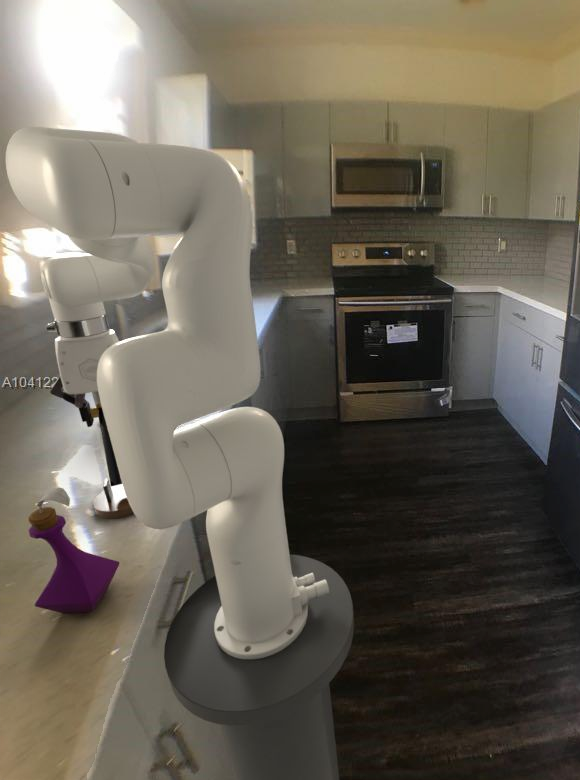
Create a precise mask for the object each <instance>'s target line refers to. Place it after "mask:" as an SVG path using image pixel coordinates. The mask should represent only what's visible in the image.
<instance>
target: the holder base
mask: <svg viewBox="0 0 580 780" xmlns="http://www.w3.org/2000/svg"><path fill="white" fill-rule="evenodd" d="M102 488H103V490H102V491H101V492H100V493H98V494H97V495H96V497H95V498H94V499H93V501H92V506H93V510H94V513H95V515H96V516H98V517H100V518H103V519H119V518H123V517H127V516H130V515H133V514H134V512H133V510H132V508H131V506H130V505H129V502H128V500H127V497H126V494H125V491H124V487H123V484H121V485H117V486H111V485H110V479H109V477H105V478H104V479H103V485H102Z"/></svg>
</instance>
